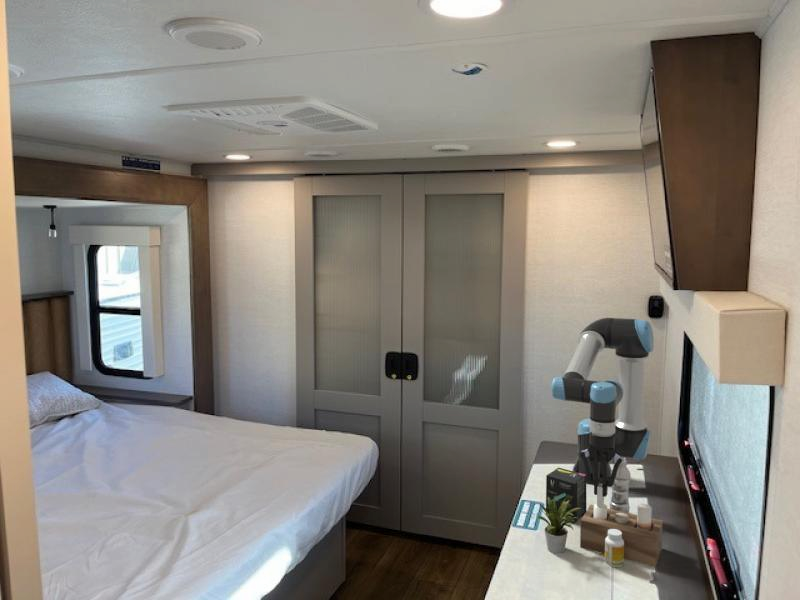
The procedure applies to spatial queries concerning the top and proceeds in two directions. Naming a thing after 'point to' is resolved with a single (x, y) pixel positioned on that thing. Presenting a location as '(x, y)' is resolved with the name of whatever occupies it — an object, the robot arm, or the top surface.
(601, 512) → the knob
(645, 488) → the top surface
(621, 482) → the plastic bottle
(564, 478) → the tampon box
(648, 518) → the knob
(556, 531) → the house plant
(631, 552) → the wooden holder rack
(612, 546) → the supplement bottle
